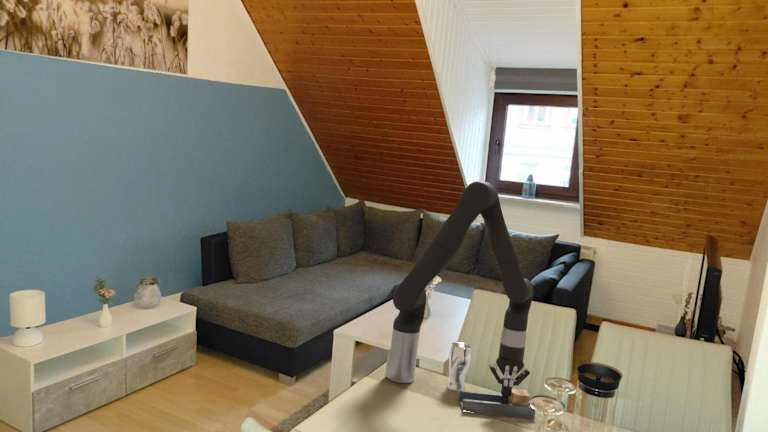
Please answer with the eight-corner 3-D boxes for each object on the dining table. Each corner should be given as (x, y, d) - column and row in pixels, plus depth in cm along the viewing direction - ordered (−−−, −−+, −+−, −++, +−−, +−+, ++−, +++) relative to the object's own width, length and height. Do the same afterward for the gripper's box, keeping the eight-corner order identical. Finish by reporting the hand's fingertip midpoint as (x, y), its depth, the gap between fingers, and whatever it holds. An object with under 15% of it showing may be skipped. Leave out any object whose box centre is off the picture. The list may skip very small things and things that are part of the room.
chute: (462, 412, 164) (464, 401, 164) (458, 400, 173) (459, 389, 173) (534, 419, 165) (535, 408, 165) (526, 407, 174) (527, 396, 174)
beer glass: (442, 388, 182) (447, 344, 181) (449, 382, 188) (455, 340, 187) (462, 394, 179) (467, 349, 178) (469, 388, 185) (474, 345, 184)
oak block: (511, 410, 167) (514, 394, 166) (507, 403, 172) (509, 388, 171) (528, 412, 167) (530, 396, 167) (523, 405, 172) (525, 389, 172)
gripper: (494, 344, 164) (487, 399, 165) (537, 348, 164) (530, 404, 165) (489, 336, 171) (482, 390, 172) (530, 341, 172) (523, 394, 173)
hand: (505, 397), depth 169 cm, fingers closed
